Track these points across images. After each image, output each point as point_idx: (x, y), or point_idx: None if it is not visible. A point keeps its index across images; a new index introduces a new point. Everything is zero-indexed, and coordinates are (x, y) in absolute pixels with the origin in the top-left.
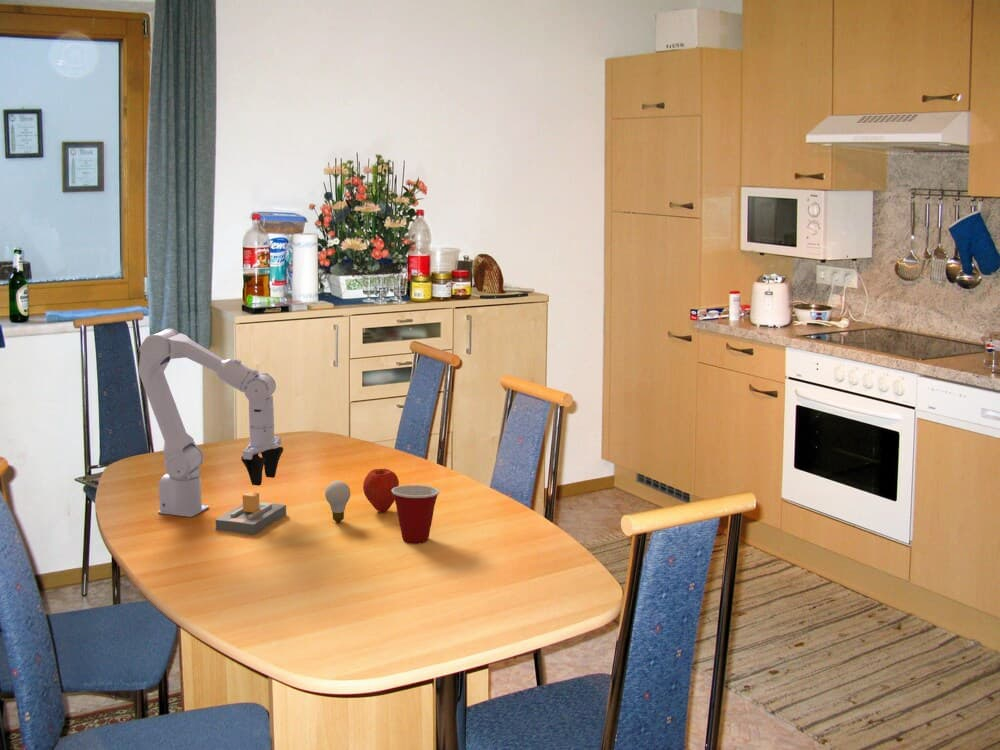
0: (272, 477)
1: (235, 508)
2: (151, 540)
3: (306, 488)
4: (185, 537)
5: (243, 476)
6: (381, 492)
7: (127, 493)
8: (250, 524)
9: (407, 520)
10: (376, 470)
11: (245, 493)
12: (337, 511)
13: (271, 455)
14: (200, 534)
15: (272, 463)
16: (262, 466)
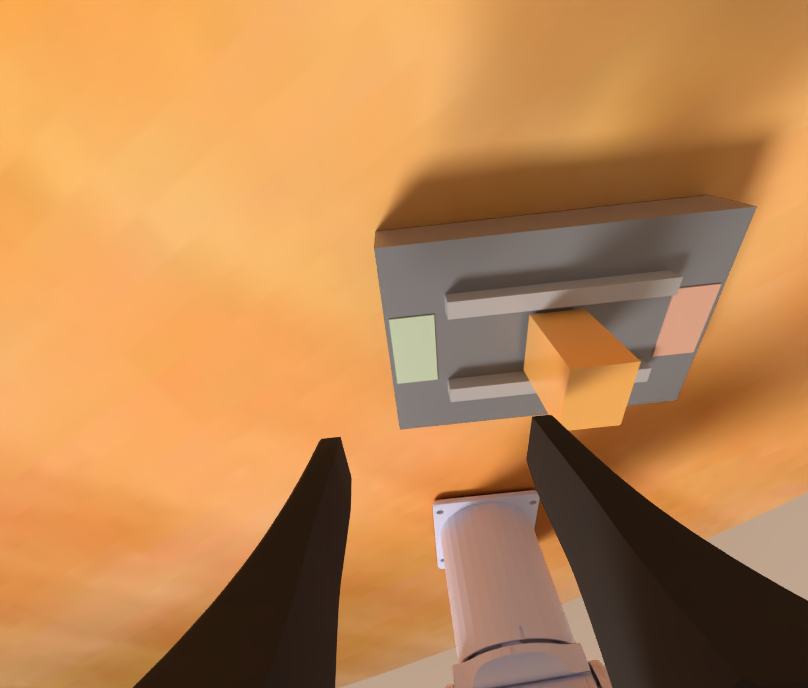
0: (340, 445)
1: (516, 416)
2: (755, 461)
3: (6, 374)
4: (730, 407)
5: (129, 573)
6: None
7: (415, 639)
8: (743, 229)
9: None
10: None
11: (587, 427)
12: None
13: (306, 673)
14: (698, 387)
15: (317, 559)
16: (666, 557)
